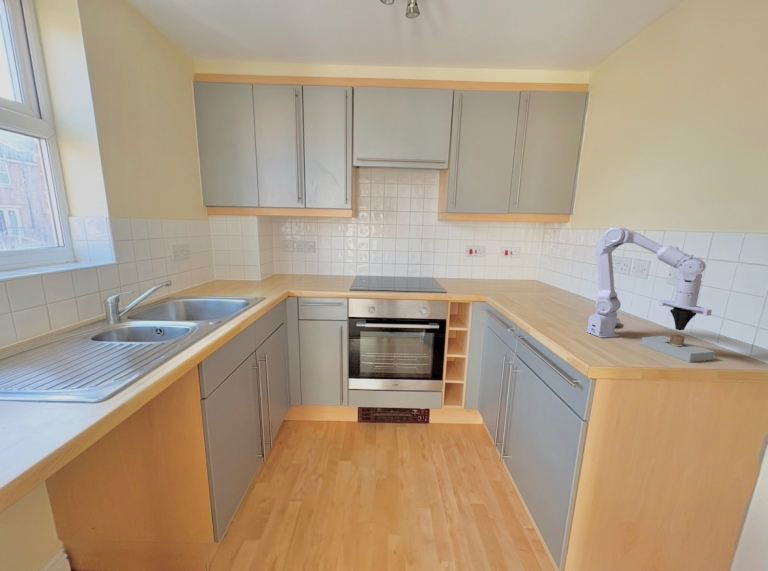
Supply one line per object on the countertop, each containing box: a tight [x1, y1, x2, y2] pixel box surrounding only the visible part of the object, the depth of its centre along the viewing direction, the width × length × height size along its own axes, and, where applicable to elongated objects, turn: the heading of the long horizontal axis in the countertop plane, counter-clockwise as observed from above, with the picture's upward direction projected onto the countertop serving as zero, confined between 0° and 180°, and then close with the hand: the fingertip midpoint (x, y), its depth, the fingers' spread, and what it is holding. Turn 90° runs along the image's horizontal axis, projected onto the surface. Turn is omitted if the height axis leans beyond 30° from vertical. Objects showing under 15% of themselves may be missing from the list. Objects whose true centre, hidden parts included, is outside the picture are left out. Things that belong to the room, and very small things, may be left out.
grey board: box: [640, 335, 716, 363], centre depth 114 cm, size 11×16×3 cm
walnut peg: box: [669, 334, 685, 347], centre depth 114 cm, size 4×4×6 cm
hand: (679, 329), depth 113 cm, fingers closed
